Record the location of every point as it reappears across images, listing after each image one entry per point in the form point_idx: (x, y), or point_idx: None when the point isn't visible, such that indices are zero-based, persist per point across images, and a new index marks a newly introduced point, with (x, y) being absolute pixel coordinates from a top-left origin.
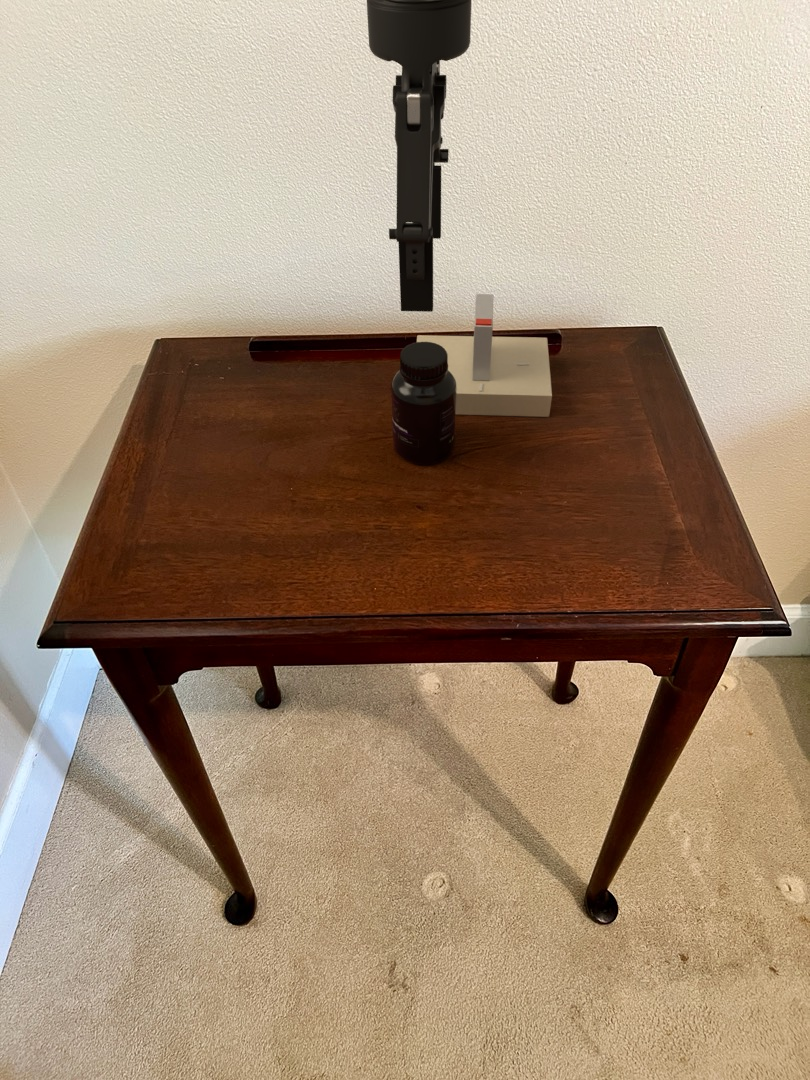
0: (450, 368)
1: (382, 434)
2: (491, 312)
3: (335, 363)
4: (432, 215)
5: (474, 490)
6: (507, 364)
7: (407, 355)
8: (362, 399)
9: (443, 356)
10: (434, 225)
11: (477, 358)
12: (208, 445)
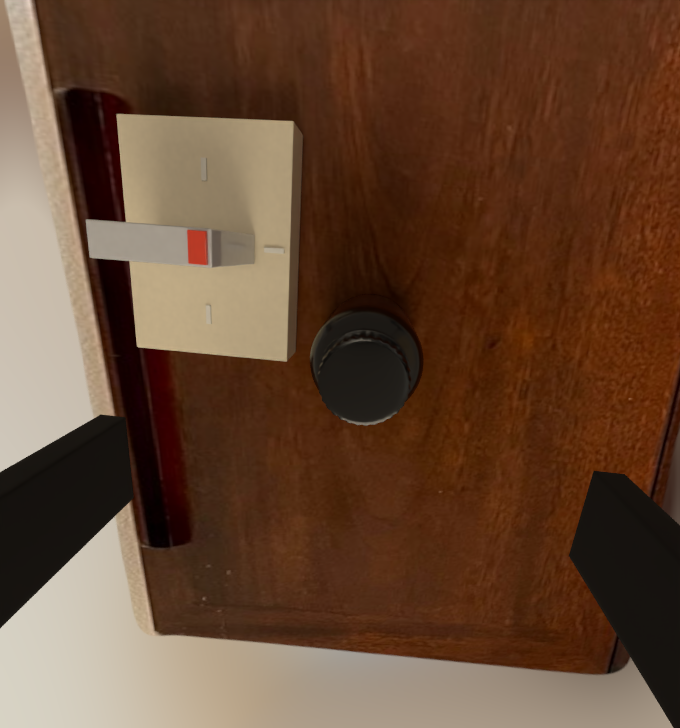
0: (223, 298)
1: None
2: (157, 227)
3: (187, 448)
4: (67, 485)
5: (467, 268)
6: (206, 198)
7: (366, 413)
8: (265, 414)
9: (371, 345)
10: (94, 457)
11: (239, 257)
12: (356, 577)
